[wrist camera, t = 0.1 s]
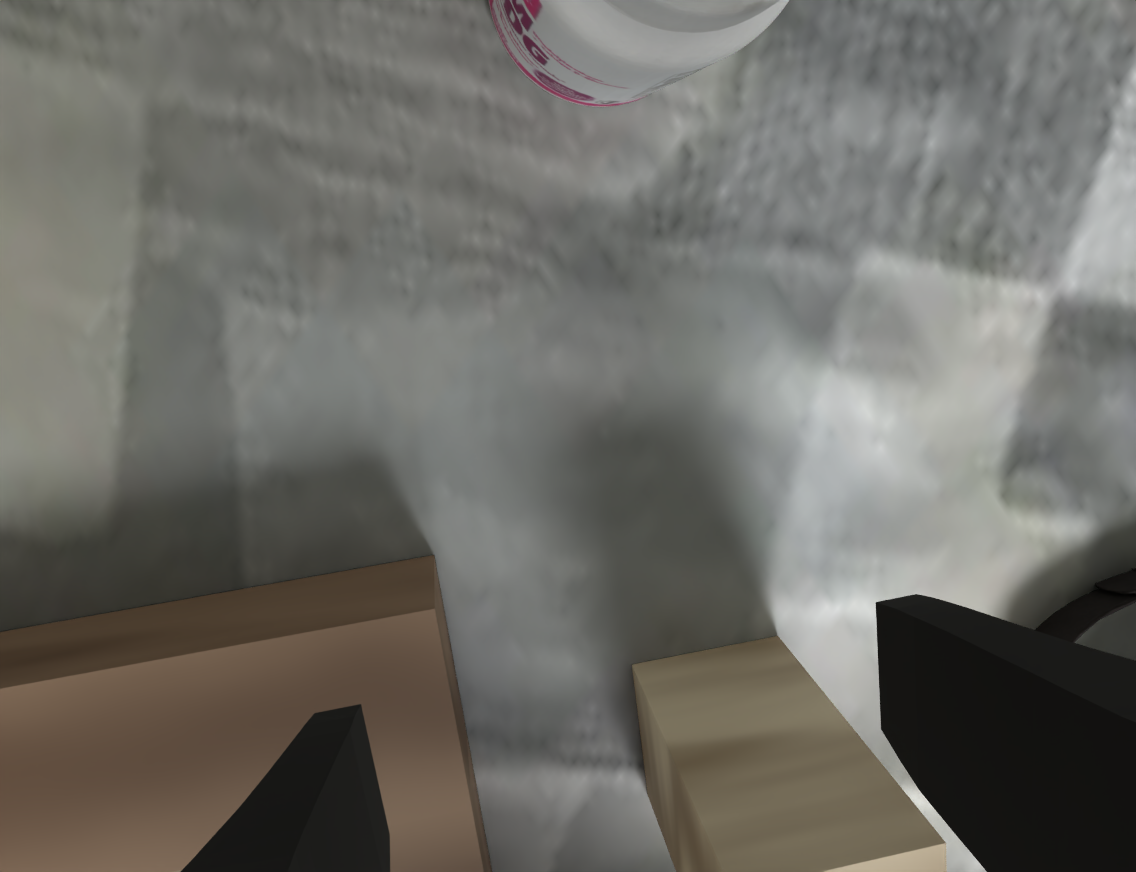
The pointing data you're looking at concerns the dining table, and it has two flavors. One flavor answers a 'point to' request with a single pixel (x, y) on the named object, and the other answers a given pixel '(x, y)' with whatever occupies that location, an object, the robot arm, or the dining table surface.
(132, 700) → the socket block
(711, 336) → the dining table surface
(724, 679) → the beech peg
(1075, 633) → the watch
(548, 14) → the pill bottle
